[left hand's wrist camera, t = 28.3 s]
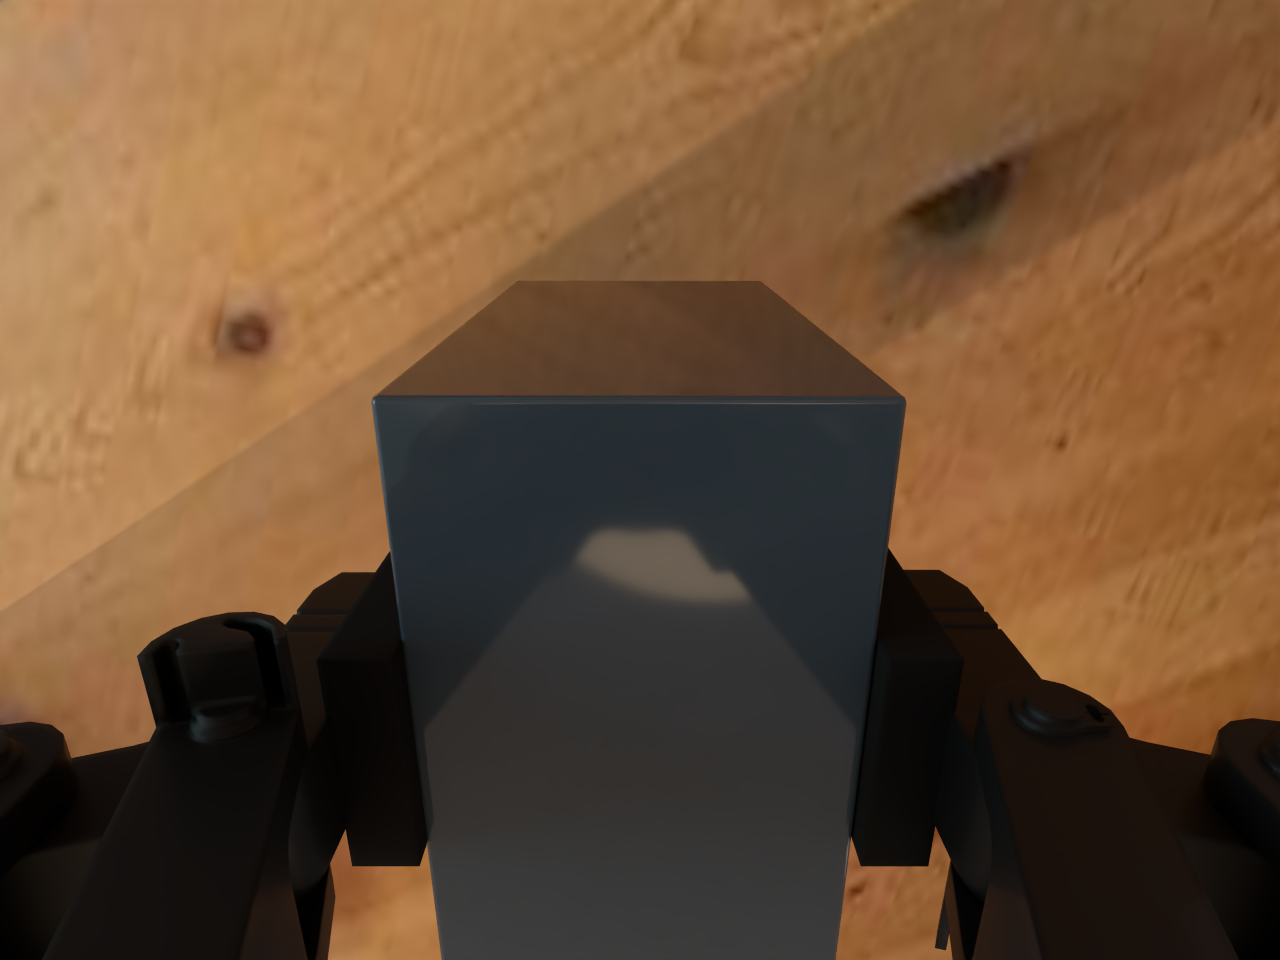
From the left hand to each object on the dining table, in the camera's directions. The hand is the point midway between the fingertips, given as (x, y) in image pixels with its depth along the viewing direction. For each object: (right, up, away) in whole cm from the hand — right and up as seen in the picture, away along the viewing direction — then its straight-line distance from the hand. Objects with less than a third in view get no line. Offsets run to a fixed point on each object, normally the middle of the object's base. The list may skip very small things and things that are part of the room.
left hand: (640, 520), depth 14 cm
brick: (0, +1, +3) cm, 3 cm away
